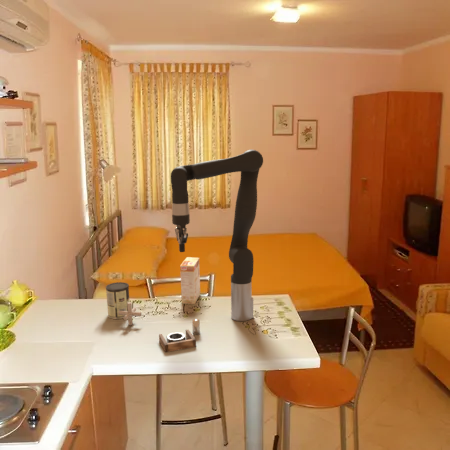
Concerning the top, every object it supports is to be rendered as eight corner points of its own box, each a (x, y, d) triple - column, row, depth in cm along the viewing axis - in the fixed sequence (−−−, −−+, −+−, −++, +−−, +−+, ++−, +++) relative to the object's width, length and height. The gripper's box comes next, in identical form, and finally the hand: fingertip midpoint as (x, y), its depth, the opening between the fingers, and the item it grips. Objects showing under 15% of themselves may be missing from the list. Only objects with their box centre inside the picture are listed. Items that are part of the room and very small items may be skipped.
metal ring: (182, 338, 196) (182, 331, 196) (186, 345, 190) (186, 338, 189) (165, 341, 194) (165, 334, 193) (169, 348, 187) (169, 341, 187)
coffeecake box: (187, 293, 248) (186, 256, 244) (200, 293, 247) (199, 257, 243) (180, 303, 234) (179, 265, 230) (195, 304, 233) (194, 265, 229)
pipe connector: (136, 329, 205) (135, 307, 203) (115, 328, 207) (113, 306, 205) (145, 320, 214) (144, 299, 212) (124, 319, 216) (123, 298, 214)
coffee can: (119, 308, 228) (117, 280, 225) (135, 313, 223) (133, 284, 220) (102, 316, 220) (100, 287, 217) (119, 320, 214) (117, 291, 211)
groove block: (188, 336, 198) (188, 329, 197) (196, 346, 189) (195, 339, 188) (159, 341, 194) (158, 334, 193) (165, 352, 184) (165, 345, 184)
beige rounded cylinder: (198, 331, 202) (198, 318, 201) (200, 334, 200) (200, 320, 198) (191, 332, 201) (191, 319, 200) (193, 335, 199) (193, 321, 197)
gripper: (193, 214, 202) (194, 254, 206) (184, 209, 214) (186, 247, 218) (176, 216, 200) (177, 256, 203) (168, 211, 212) (170, 249, 215)
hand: (182, 251), depth 211 cm, fingers closed
